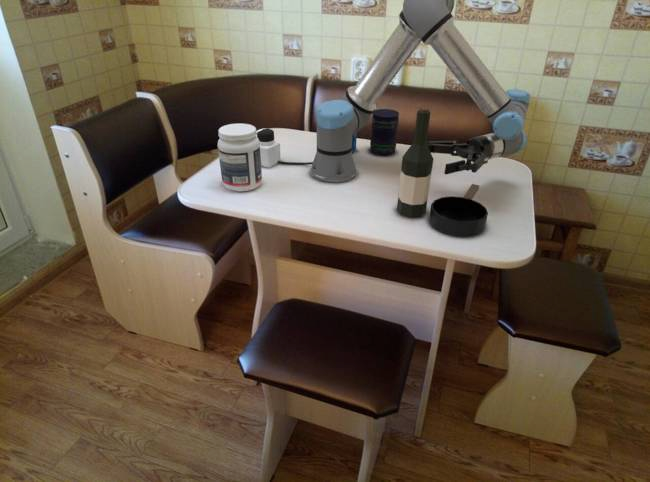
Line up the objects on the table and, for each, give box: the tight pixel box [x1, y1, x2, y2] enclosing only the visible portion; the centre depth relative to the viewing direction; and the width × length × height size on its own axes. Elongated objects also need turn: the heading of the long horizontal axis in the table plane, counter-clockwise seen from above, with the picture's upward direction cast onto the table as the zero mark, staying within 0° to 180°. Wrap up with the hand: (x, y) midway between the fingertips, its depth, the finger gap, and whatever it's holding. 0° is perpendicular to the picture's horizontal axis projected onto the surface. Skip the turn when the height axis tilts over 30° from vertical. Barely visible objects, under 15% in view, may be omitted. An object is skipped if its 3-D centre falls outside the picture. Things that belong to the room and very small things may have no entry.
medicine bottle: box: [256, 127, 282, 169], centre depth 159 cm, size 7×7×12 cm
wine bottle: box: [396, 106, 434, 219], centre depth 125 cm, size 8×8×30 cm
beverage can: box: [351, 131, 358, 153], centre depth 170 cm, size 6×6×12 cm
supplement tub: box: [217, 123, 263, 192], centre depth 142 cm, size 13×13×18 cm
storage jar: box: [369, 108, 400, 157], centre depth 169 cm, size 10×10×15 cm
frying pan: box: [428, 183, 489, 238], centre depth 130 cm, size 26×15×5 cm, turn 150°
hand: (428, 161), depth 127 cm, fingers open, 13 cm apart
